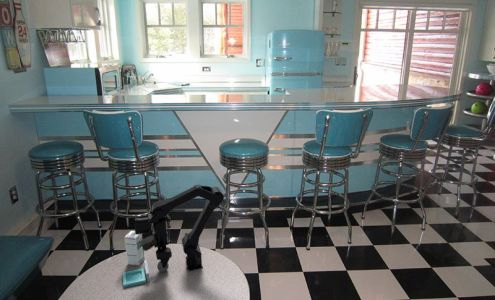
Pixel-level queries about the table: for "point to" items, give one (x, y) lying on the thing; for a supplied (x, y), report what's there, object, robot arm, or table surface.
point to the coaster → (134, 277)
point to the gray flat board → (146, 270)
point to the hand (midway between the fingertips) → (162, 262)
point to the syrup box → (134, 248)
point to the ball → (162, 267)
